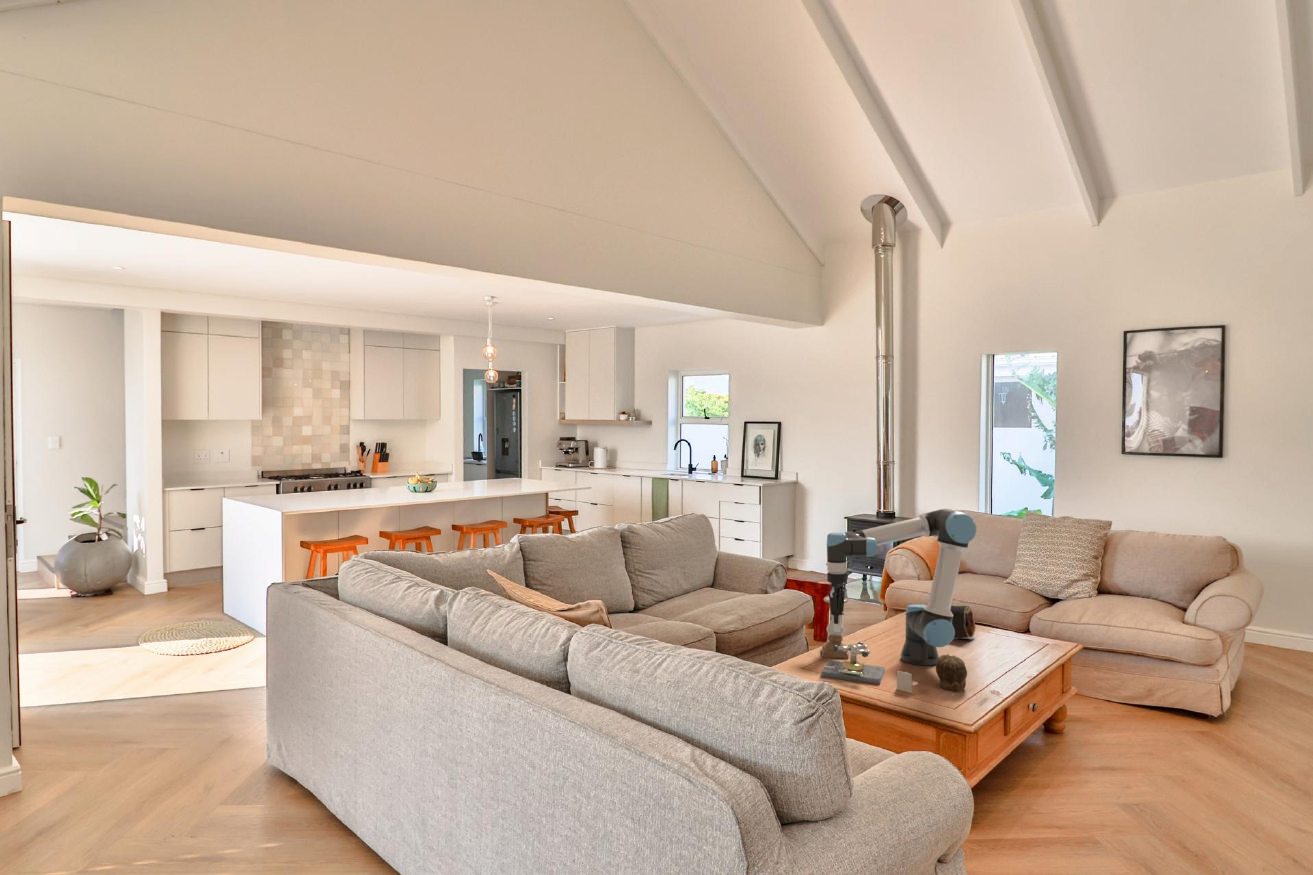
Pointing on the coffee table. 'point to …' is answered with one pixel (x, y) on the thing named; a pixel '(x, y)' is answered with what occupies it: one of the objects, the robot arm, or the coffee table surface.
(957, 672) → the dark brown rounded lump
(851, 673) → the stand
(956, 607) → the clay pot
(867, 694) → the coffee table surface
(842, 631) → the candle holder
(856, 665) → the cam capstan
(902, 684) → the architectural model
